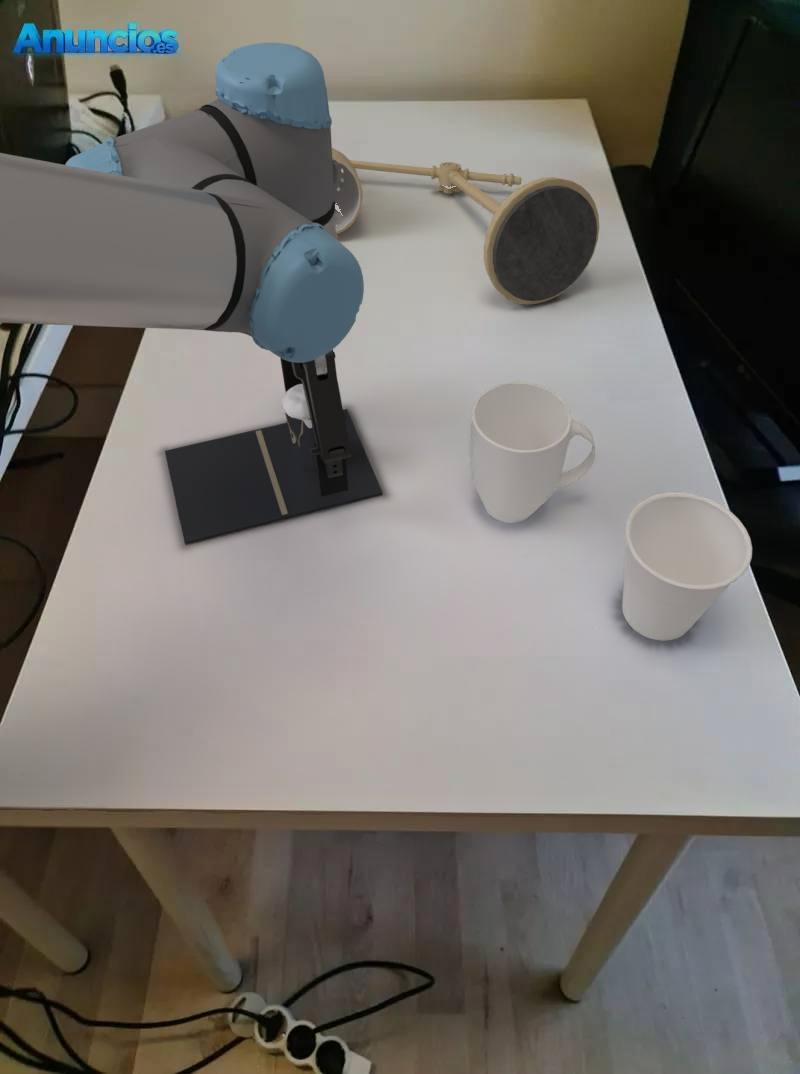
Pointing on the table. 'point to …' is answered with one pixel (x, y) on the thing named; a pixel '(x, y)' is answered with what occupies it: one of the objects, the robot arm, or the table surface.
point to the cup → (679, 561)
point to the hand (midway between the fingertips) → (316, 444)
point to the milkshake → (300, 426)
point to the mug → (522, 448)
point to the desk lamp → (506, 225)
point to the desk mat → (256, 482)
